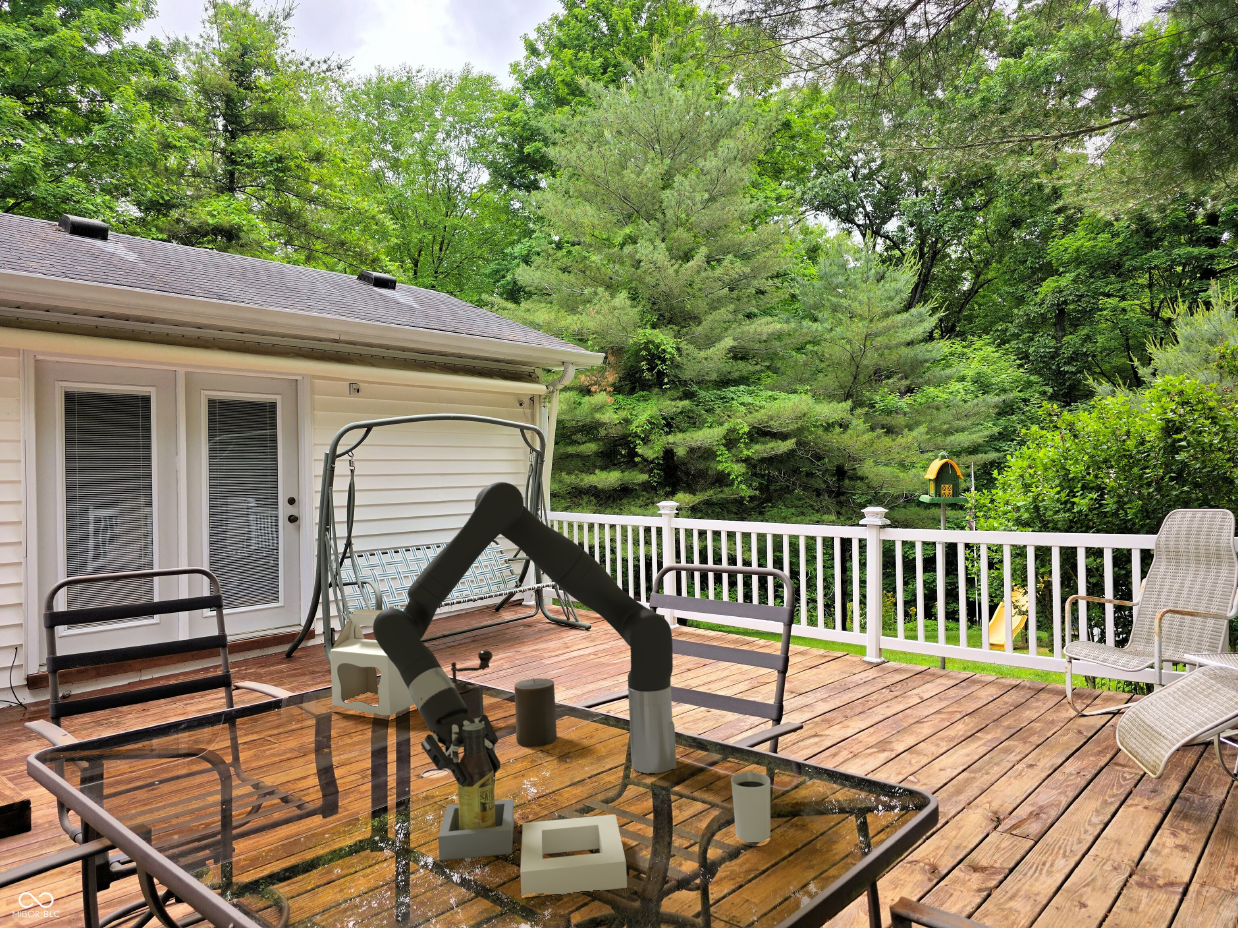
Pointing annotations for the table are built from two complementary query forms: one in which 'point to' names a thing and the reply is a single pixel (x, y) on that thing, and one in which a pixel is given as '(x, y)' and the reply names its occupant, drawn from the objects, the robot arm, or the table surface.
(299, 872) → the table surface
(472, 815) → the sauce bottle
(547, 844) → the socket collar
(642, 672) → the robot arm
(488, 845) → the frame
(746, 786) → the white coffee cup
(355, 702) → the gable box
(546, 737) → the pillar candle
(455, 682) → the manual coffee grinder
